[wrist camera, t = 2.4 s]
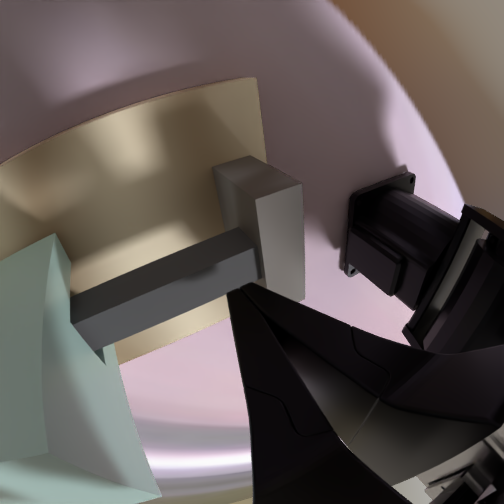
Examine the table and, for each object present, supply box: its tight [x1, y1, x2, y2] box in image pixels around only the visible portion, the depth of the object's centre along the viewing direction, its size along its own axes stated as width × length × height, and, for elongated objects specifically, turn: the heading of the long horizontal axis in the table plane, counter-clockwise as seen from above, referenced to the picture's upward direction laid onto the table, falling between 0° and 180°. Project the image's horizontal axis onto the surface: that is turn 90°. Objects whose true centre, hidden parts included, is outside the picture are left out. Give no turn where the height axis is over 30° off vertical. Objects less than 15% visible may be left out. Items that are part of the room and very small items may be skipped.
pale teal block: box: [0, 233, 162, 504], centre depth 6 cm, size 6×5×8 cm
